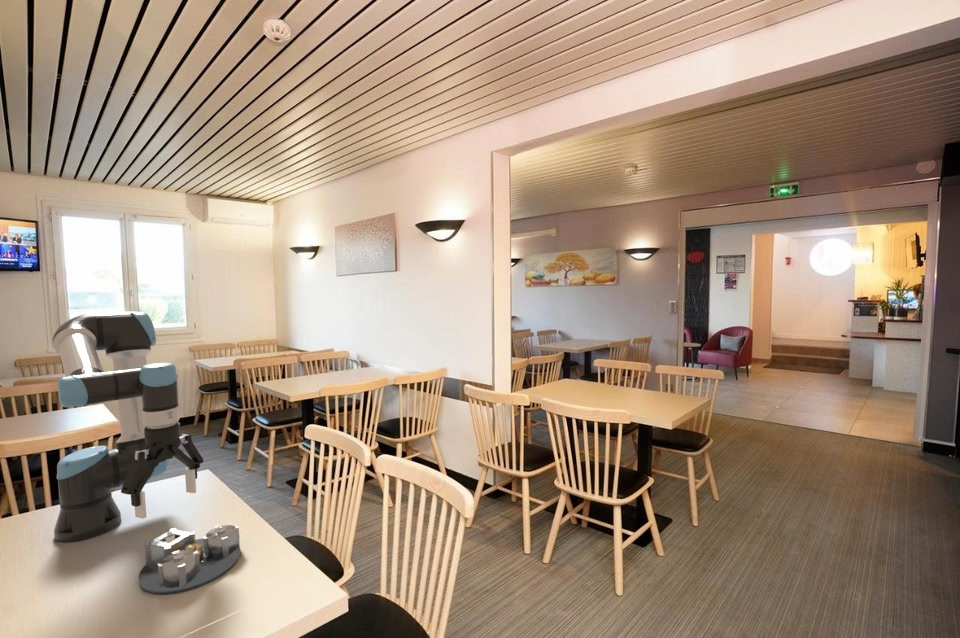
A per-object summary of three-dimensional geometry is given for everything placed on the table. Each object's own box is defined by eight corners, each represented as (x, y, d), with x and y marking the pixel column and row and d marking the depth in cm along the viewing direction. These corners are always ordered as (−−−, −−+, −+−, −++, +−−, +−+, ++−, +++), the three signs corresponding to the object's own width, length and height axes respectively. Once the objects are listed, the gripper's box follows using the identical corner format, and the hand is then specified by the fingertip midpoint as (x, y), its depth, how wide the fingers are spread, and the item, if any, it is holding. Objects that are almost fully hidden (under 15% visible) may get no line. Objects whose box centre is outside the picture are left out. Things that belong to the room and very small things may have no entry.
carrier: (134, 564, 118) (131, 535, 117) (228, 532, 133) (227, 506, 132) (144, 608, 102) (142, 575, 101) (251, 566, 116) (249, 537, 116)
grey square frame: (143, 563, 116) (141, 544, 116) (175, 544, 125) (173, 527, 124) (168, 569, 114) (166, 550, 113) (198, 549, 122) (197, 531, 122)
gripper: (121, 442, 103) (127, 531, 105) (215, 411, 127) (219, 485, 129) (98, 439, 106) (105, 526, 108) (194, 409, 129) (199, 481, 131)
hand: (167, 504), depth 118 cm, fingers open, 13 cm apart
